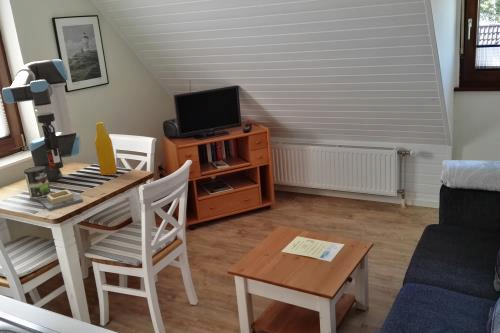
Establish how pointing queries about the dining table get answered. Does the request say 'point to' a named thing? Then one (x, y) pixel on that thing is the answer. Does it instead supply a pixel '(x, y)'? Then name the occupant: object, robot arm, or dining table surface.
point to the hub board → (60, 199)
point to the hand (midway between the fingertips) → (55, 161)
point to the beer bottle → (104, 151)
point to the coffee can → (37, 182)
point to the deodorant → (50, 156)
